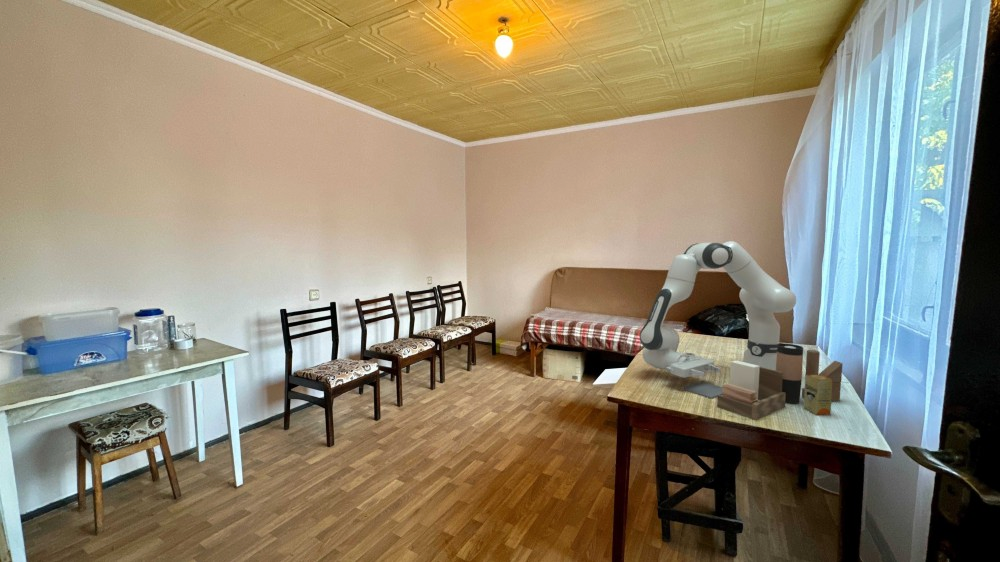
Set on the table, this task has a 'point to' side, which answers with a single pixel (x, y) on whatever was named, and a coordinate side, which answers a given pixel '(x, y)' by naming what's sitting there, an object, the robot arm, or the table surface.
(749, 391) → the offcut stack
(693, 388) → the mat
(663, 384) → the table surface
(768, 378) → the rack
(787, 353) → the travel mug
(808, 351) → the wooden block
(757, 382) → the white rectangular block
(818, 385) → the shoe polish box
